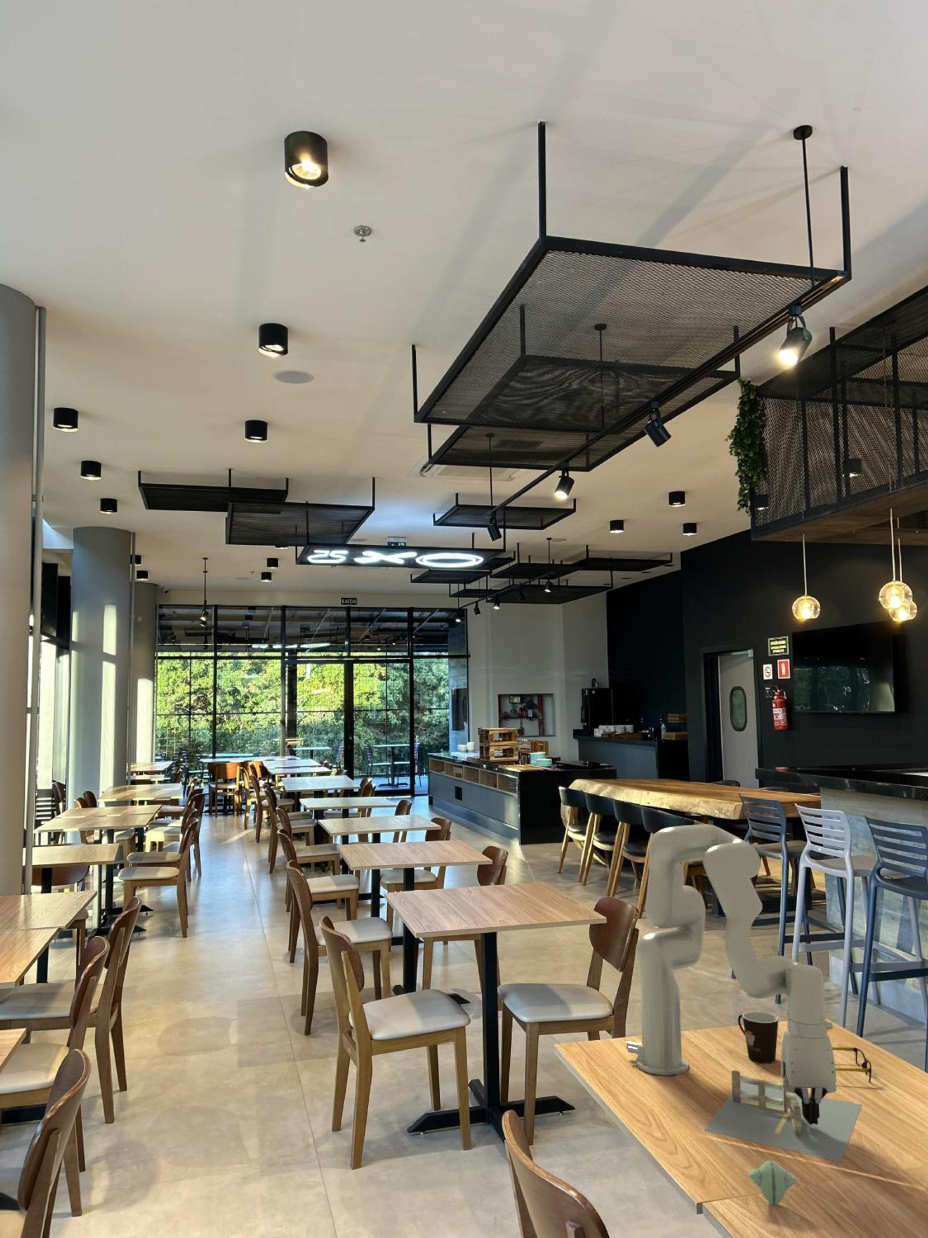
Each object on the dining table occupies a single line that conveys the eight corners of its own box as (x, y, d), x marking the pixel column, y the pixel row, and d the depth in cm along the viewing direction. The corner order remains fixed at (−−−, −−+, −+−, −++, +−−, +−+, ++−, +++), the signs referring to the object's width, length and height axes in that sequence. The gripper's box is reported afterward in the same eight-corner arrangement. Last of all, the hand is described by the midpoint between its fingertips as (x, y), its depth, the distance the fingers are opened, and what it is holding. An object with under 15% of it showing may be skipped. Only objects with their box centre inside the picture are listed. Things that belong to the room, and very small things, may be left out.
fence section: (731, 1101, 196) (730, 1071, 197) (733, 1098, 198) (732, 1068, 198) (792, 1114, 190) (790, 1082, 190) (793, 1111, 191) (792, 1080, 192)
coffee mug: (785, 1065, 218) (783, 1023, 219) (749, 1065, 218) (748, 1022, 219) (769, 1048, 230) (767, 1008, 231) (736, 1048, 230) (734, 1008, 231)
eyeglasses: (876, 1086, 206) (875, 1068, 207) (810, 1082, 209) (809, 1064, 210) (860, 1063, 220) (859, 1046, 221) (799, 1060, 223) (798, 1043, 223)
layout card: (704, 1132, 182) (704, 1129, 182) (741, 1082, 208) (741, 1080, 208) (840, 1164, 169) (840, 1161, 169) (861, 1107, 194) (861, 1104, 194)
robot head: (750, 1207, 154) (749, 1165, 155) (748, 1195, 158) (746, 1154, 159) (799, 1212, 152) (797, 1170, 153) (795, 1200, 156) (793, 1159, 157)
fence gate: (786, 1111, 190) (785, 1087, 190) (792, 1111, 190) (791, 1087, 190) (795, 1133, 179) (794, 1108, 180) (801, 1134, 179) (800, 1109, 180)
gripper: (835, 1022, 189) (839, 1114, 187) (764, 1022, 189) (768, 1114, 187) (850, 1034, 182) (855, 1130, 179) (777, 1034, 182) (781, 1130, 180)
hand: (811, 1121), depth 183 cm, fingers closed
